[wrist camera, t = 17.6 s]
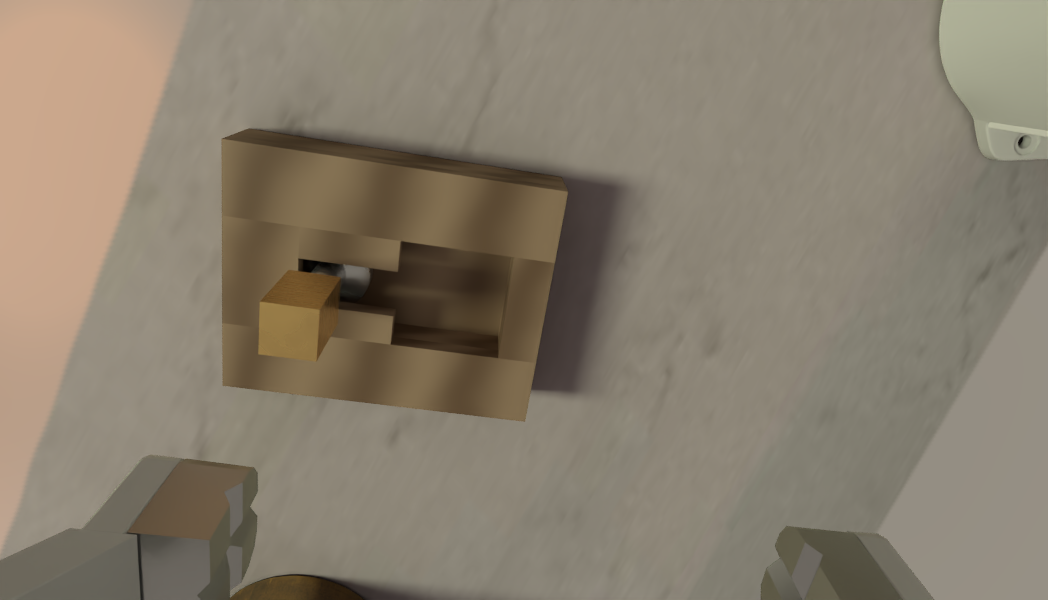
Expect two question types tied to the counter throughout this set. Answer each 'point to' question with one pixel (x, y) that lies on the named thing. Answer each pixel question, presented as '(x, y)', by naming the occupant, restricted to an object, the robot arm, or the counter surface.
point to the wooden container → (295, 590)
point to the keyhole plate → (391, 271)
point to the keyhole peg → (307, 308)
